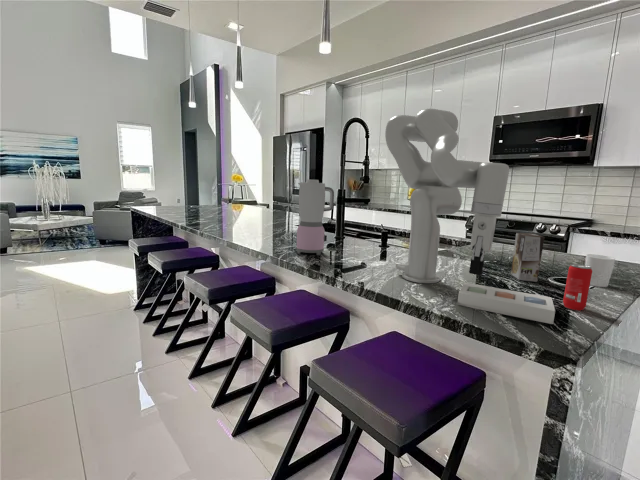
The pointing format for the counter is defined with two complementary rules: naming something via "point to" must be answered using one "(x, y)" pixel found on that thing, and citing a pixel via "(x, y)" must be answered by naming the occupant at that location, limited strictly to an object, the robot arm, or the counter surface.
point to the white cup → (600, 269)
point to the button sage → (477, 290)
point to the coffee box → (527, 256)
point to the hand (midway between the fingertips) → (475, 273)
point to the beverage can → (577, 287)
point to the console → (507, 303)
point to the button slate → (535, 300)
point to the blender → (312, 216)
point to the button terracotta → (505, 295)
